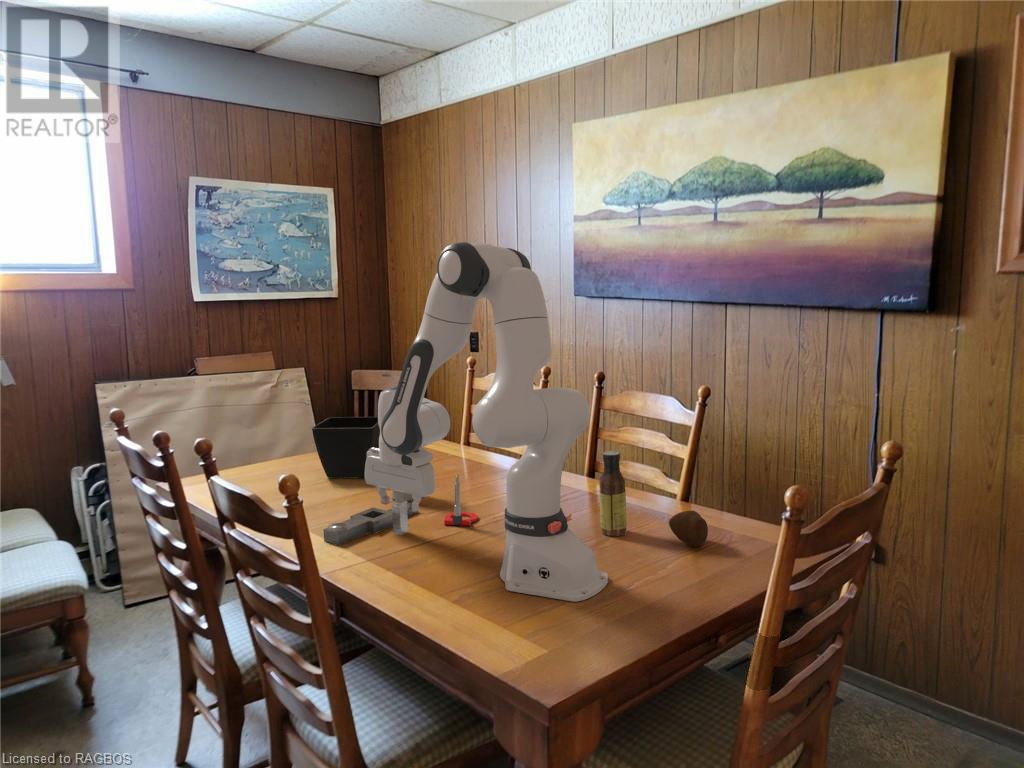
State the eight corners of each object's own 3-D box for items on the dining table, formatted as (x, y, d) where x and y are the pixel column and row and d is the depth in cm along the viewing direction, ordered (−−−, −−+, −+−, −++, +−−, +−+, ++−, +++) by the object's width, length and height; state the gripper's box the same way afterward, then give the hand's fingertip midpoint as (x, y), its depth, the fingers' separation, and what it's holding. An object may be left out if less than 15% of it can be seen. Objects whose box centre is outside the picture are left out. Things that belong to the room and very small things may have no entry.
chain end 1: (396, 524, 183) (396, 510, 182) (343, 546, 168) (342, 531, 167) (373, 518, 187) (373, 504, 187) (319, 540, 172) (318, 525, 172)
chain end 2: (422, 513, 191) (422, 505, 191) (374, 533, 176) (373, 525, 176) (400, 508, 195) (399, 500, 195) (350, 527, 181) (350, 519, 180)
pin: (408, 532, 177) (407, 500, 176) (400, 535, 175) (399, 503, 174) (400, 530, 178) (399, 498, 177) (392, 533, 176) (391, 501, 175)
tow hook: (449, 515, 190) (440, 525, 181) (448, 467, 189) (439, 475, 180) (480, 516, 189) (473, 527, 180) (480, 468, 188) (473, 476, 179)
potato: (695, 553, 161) (696, 519, 160) (662, 540, 169) (663, 508, 168) (716, 546, 165) (717, 513, 164) (683, 534, 173) (684, 502, 172)
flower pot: (331, 465, 240) (328, 416, 238) (387, 465, 239) (385, 415, 237) (313, 482, 222) (310, 428, 219) (374, 481, 221) (372, 427, 218)
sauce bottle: (627, 529, 177) (628, 450, 174) (624, 538, 171) (625, 456, 168) (601, 527, 178) (601, 448, 175) (597, 536, 172) (597, 455, 169)
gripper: (357, 448, 177) (359, 502, 180) (420, 461, 166) (422, 518, 168) (376, 443, 182) (377, 496, 185) (438, 455, 171) (439, 511, 173)
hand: (399, 507), depth 176 cm, fingers open, 8 cm apart
